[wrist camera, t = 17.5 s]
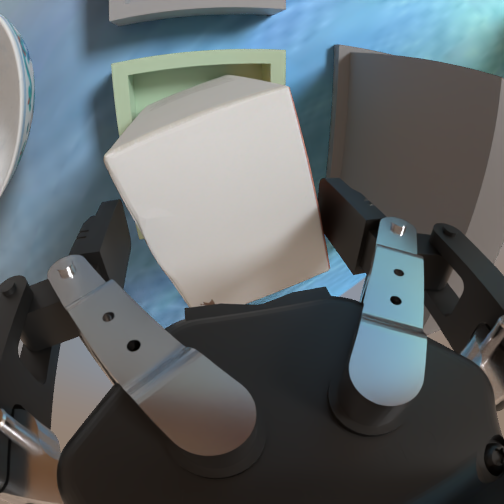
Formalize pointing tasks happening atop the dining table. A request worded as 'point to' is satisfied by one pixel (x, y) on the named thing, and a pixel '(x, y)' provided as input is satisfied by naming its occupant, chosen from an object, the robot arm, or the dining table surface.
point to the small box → (223, 190)
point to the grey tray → (186, 9)
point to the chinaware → (14, 99)
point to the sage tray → (186, 76)
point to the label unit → (421, 144)
